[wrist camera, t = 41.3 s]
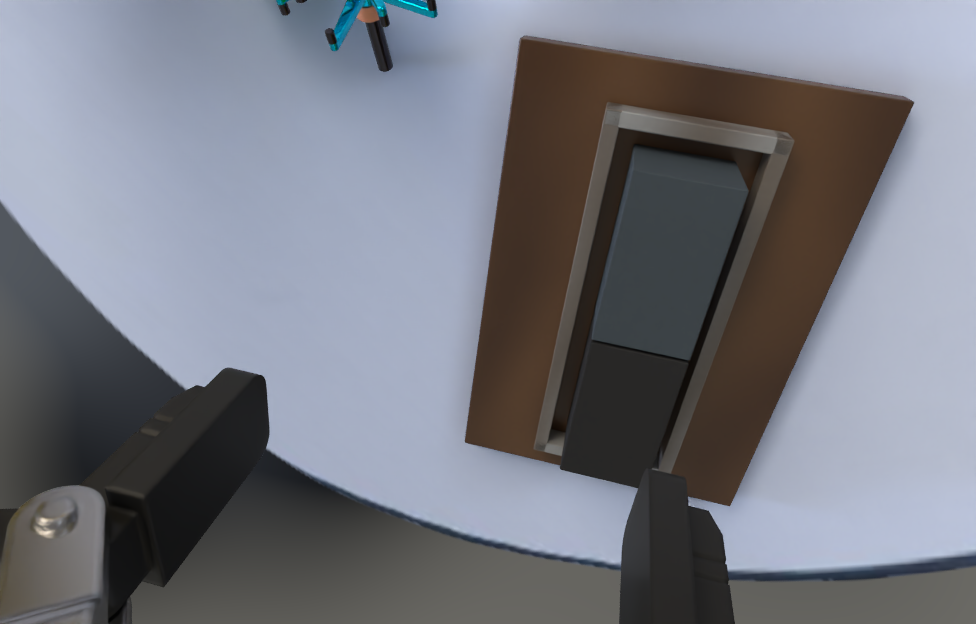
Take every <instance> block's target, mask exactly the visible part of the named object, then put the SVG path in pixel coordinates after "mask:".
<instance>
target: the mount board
mask: <svg viewBox="0 0 976 624" xmlns="http://www.w3.org/2000/svg"><path fill="white" fill-rule="evenodd" d="M913 104H914V102H913V101H912V100H910V99H908V98H906V97H904V96H898V95H891V94H885V93H879V92H873V91H867V90H860V89H854V88H848V87H842V86H836V85H829V84H823V83H817V82H811V81H804V80H798V79H792V78H786V77H780V76H773V75H767V74H761V73H755V72H749V71H742V70H736V69H730V68H724V67H718V66H711V65H705V64H699V63H693V62H686V61H680V60H674V59H668V58H662V57H655V56H649V55H643V54H637V53H631V52H624V51H618V50H612V49H606V48H599V47H593V46H587V45H581V44H575V43H568V42H562V41H556V40H550V39H544V38H537V37H531V36H523V37H522V38H520V41H519V49H518V56H517V63H516V71H515V78H514V85H513V92H512V100H511V107H510V114H509V122H508V129H507V136H506V144H505V151H504V158H503V166H502V173H501V180H500V188H499V195H498V202H497V210H496V217H495V224H494V232H493V239H492V246H491V254H490V261H489V268H488V276H487V283H486V290H485V297H484V305H483V312H482V319H481V327H480V334H479V341H478V349H477V356H476V363H475V371H474V378H473V385H472V393H471V400H470V407H469V415H468V422H467V429H466V437H465V443H469V444H473V445H477V446H482V447H486V448H490V449H494V450H498V451H502V452H506V453H511V454H515V455H519V456H523V457H527V458H531V459H535V460H540V461H544V462H548V463H552V464H556V465H560V464H561V457H562V451H563V445H564V439H565V432H566V426H567V420H568V416H569V412H570V408H571V404H572V400H573V395H574V391H575V387H576V383H577V379H578V375H579V371H580V366H581V362H582V358H583V354H584V350H585V346H586V342H587V337H588V333H589V329H590V325H591V321H592V317H593V312H594V308H595V304H596V300H597V295H598V291H599V287H600V283H601V279H602V274H603V270H604V266H605V262H606V258H607V254H608V250H609V245H610V241H611V237H612V233H613V229H614V225H615V221H616V216H617V212H618V208H619V204H620V200H621V196H622V192H623V187H624V183H625V179H626V175H627V171H628V167H629V163H630V158H631V154H632V150H633V146H634V144H639V145H645V146H651V147H656V148H662V149H668V150H673V151H679V152H684V153H690V154H696V155H701V156H707V157H713V158H718V159H724V160H730V161H735V162H736V163H737V166H738V168H739V170H740V172H741V175H742V177H743V179H744V182H745V184H746V186H747V188H748V191H749V192H748V195H747V198H746V201H745V204H744V207H743V210H742V213H741V215H740V218H739V221H738V224H737V227H736V230H735V233H734V235H733V238H732V241H731V244H730V247H729V250H728V253H727V256H726V258H725V261H724V264H723V267H722V270H721V273H720V276H719V278H718V281H717V284H716V287H715V290H714V293H713V296H712V298H711V301H710V304H709V307H708V310H707V313H706V316H705V319H704V321H703V324H702V327H701V330H700V333H699V336H698V339H697V341H696V344H695V347H694V350H693V353H692V356H691V359H690V360H688V364H689V365H688V367H687V370H686V373H685V376H684V379H683V382H682V385H681V388H680V390H679V393H678V396H677V399H676V402H675V405H674V408H673V410H672V413H671V416H670V419H669V422H668V425H667V428H666V431H665V433H664V436H663V439H662V442H661V445H660V448H659V451H658V453H657V456H656V459H655V462H654V465H653V468H652V469H653V470H657V471H661V472H666V473H670V474H674V475H678V476H683V477H685V479H686V483H687V494H688V496H689V497H693V498H697V499H702V500H706V501H710V502H714V503H718V504H722V505H726V506H730V505H731V503H732V501H733V499H734V496H735V494H736V492H737V490H738V488H739V485H740V483H741V481H742V479H743V477H744V475H745V472H746V470H747V468H748V466H749V464H750V461H751V459H752V457H753V455H754V453H755V450H756V448H757V446H758V444H759V442H760V439H761V437H762V435H763V433H764V431H765V428H766V426H767V424H768V422H769V420H770V418H771V415H772V413H773V411H774V409H775V407H776V404H777V402H778V400H779V398H780V396H781V393H782V391H783V389H784V387H785V385H786V382H787V380H788V378H789V376H790V374H791V371H792V369H793V367H794V365H795V363H796V361H797V358H798V356H799V354H800V352H801V350H802V347H803V345H804V343H805V341H806V339H807V336H808V334H809V332H810V330H811V328H812V325H813V323H814V321H815V319H816V317H817V314H818V312H819V310H820V308H821V306H822V304H823V301H824V299H825V297H826V295H827V293H828V290H829V288H830V286H831V284H832V282H833V279H834V277H835V275H836V273H837V271H838V268H839V266H840V264H841V262H842V260H843V257H844V255H845V253H846V251H847V249H848V247H849V244H850V242H851V240H852V238H853V236H854V233H855V231H856V229H857V227H858V225H859V222H860V220H861V218H862V216H863V214H864V211H865V209H866V207H867V205H868V203H869V200H870V198H871V196H872V194H873V192H874V189H875V187H876V185H877V183H878V181H879V179H880V176H881V174H882V172H883V170H884V168H885V165H886V163H887V161H888V159H889V157H890V154H891V152H892V150H893V148H894V146H895V143H896V141H897V139H898V137H899V135H900V132H901V130H902V128H903V126H904V124H905V122H906V119H907V117H908V115H909V113H910V111H911V108H912V106H913Z"/></svg>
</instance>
